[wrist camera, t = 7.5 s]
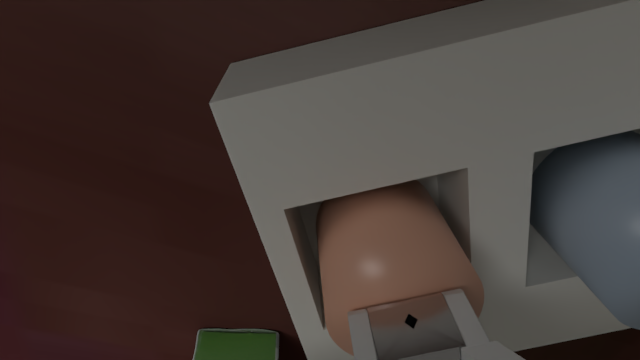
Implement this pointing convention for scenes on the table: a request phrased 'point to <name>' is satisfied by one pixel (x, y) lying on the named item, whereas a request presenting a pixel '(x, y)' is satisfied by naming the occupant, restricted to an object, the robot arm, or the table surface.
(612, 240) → the grey piece
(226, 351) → the ink box
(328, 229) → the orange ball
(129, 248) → the table surface
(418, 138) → the white flat block
